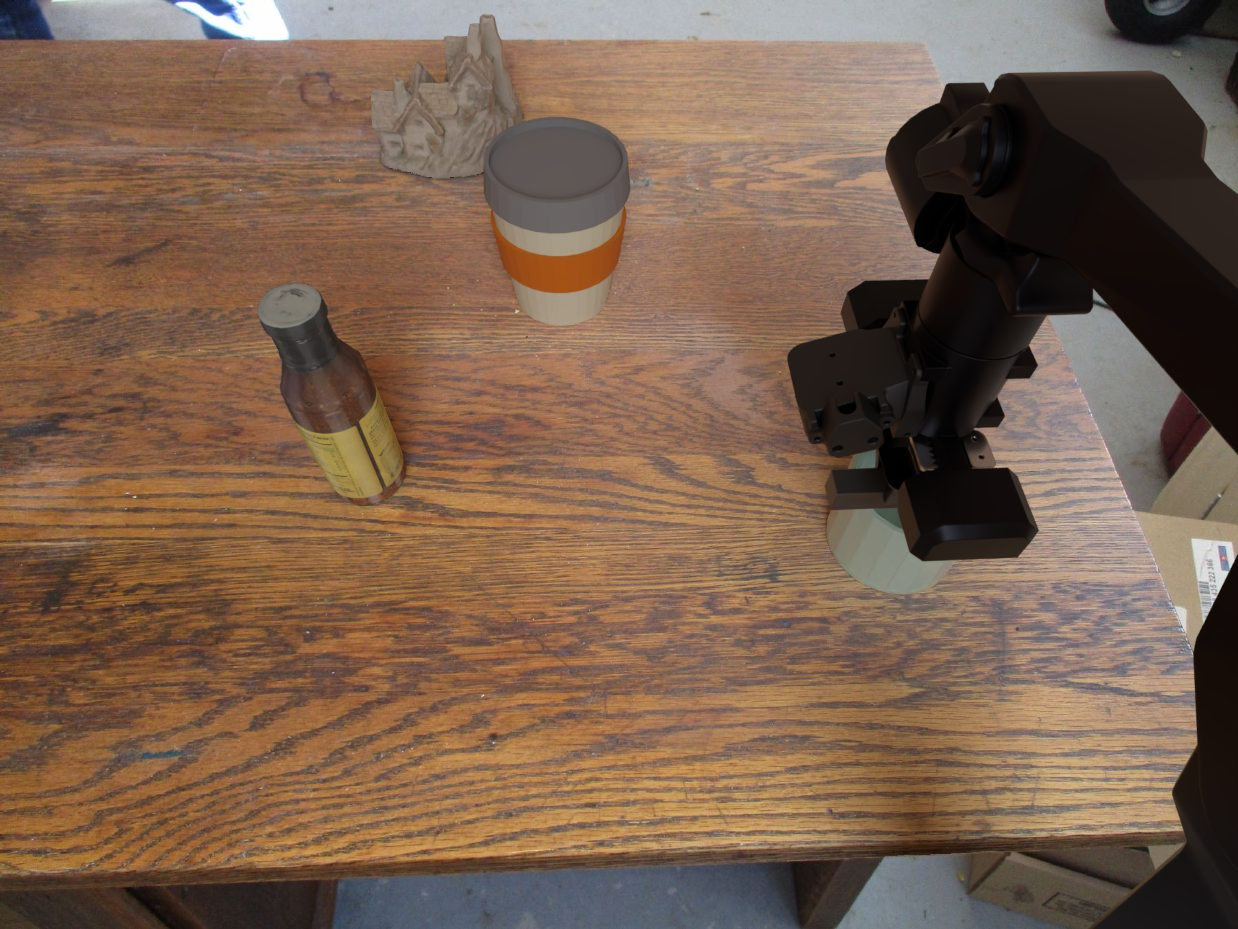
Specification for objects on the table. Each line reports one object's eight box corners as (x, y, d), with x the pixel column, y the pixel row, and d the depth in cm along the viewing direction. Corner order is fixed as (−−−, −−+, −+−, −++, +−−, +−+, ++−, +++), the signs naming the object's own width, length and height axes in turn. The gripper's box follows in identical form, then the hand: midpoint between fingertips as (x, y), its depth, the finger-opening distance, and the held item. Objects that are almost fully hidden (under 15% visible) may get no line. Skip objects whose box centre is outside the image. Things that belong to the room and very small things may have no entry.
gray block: (931, 481, 56) (941, 464, 55) (940, 506, 55) (950, 490, 53) (824, 485, 56) (830, 468, 54) (830, 511, 55) (837, 494, 53)
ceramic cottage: (536, 102, 100) (517, -29, 87) (506, 190, 91) (480, 58, 78) (412, 97, 102) (376, -32, 89) (371, 183, 93) (324, 53, 80)
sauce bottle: (383, 435, 71) (319, 250, 54) (422, 482, 68) (367, 303, 52) (313, 475, 68) (224, 294, 52) (351, 526, 65) (269, 351, 49)
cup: (979, 559, 65) (1022, 504, 58) (880, 616, 62) (914, 564, 55) (896, 468, 70) (926, 408, 63) (801, 516, 67) (822, 458, 60)
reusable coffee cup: (473, 314, 79) (450, 178, 67) (536, 236, 86) (525, 100, 74) (592, 356, 76) (590, 222, 64) (647, 273, 83) (655, 137, 71)
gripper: (786, 202, 47) (745, 382, 60) (858, 476, 36) (790, 624, 49) (979, 198, 47) (898, 378, 60) (1106, 468, 37) (975, 616, 50)
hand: (887, 487), depth 55 cm, fingers closed on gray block, 2 cm apart
